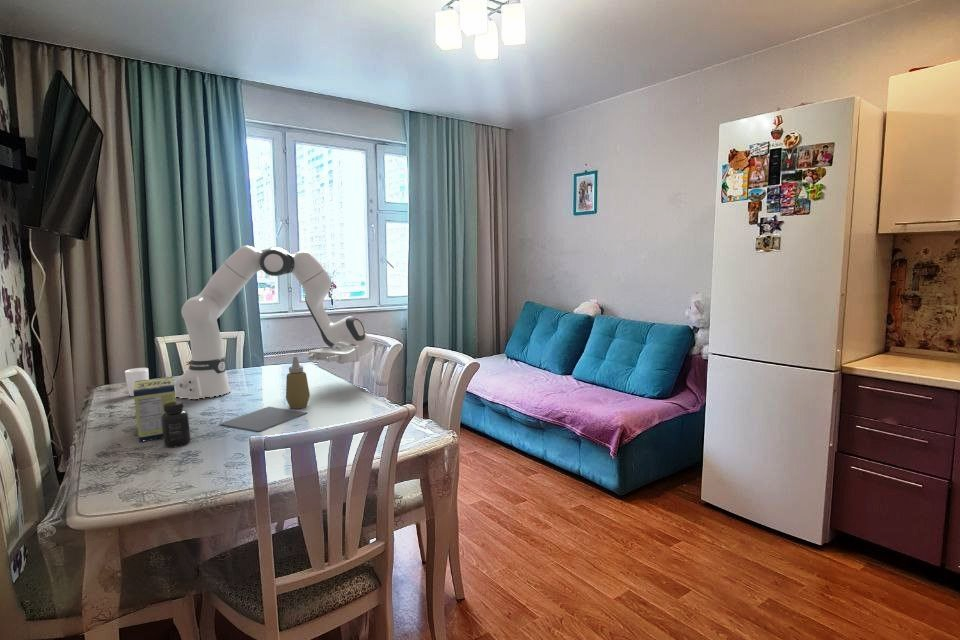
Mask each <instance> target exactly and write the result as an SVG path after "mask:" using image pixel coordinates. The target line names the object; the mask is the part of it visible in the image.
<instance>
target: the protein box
mask: <svg viewBox="0 0 960 640" xmlns="http://www.w3.org/2000/svg"><path fill="white" fill-rule="evenodd" d="M133 393H134V397H133V400H134V407H135V416H136V425H137V433H138V442H139V441H143V440H149V441H151V440H150V439H155V438H160V439H162V438H161V437H163V432H162V423H161V417H162V415H163V414H164V413H165V412H164V405H165V404H167V403H170V402H177V400H176V399H177V398H176V397H175V383H174V376H167V377H160V378H152V379H150V378H149V380H141V381H135V386H134V391H133ZM155 440H156V439H155Z"/></svg>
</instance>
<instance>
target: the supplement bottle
mask: <svg viewBox="0 0 960 640" xmlns="http://www.w3.org/2000/svg"><path fill="white" fill-rule="evenodd" d="M184 409H185V408H184V402H183V401H180V400H179V401H176V402H170V403H167V404H165V405H164V412H165V413H164V414H163V415H162V417H161V423H162V432H163V438H162V441H163V446H164V447H166V446H167V447H166V448H176V447H175V446H179V447H182V446H181V445H183V446H185V445H184V444H186V445H188V444H189V443H190V442H191V440H192V436H191V427H190V418H189V413H188V412H187V410H184ZM187 443H188V444H187Z"/></svg>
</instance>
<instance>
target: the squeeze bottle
mask: <svg viewBox="0 0 960 640" xmlns="http://www.w3.org/2000/svg"><path fill="white" fill-rule="evenodd" d="M288 372H289V373H287V374H286V379H285V380H286V386H285V400H286V402H287V403H288V405H289V409H294V410H295V409H302V408H306V407H307V406H308V404H309V400H310V395H311V394H310V389H309V383H308V377H307V373H306V372H305V371H304V366H302V365H300V361H299V360H298V356H293V358H292V363H291V366H289V367H288Z"/></svg>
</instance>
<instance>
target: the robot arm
mask: <svg viewBox="0 0 960 640" xmlns="http://www.w3.org/2000/svg"><path fill="white" fill-rule="evenodd" d="M260 271H263V273H265V274H266V275H268V276H271V277H280V276H283V275H286V274H287V275H288V274H292V275H293V276H294V277H295V278H296V280H297V281H298V283H299V284H300V285H301V287H302V289H303V291H304V294H305V296H304V301H305V304H306V307H307V308H308V311H309V313H310V314H311V317H312V318H313V320H314V322H315V324H316V326H317V327H318V330H319V331H320V335H321V338H322V341H323V342H324V343H325V345H326V346H328V347H329V348H327V347H325V348H323V347H321V348H316V349H310V350H308V356H307V360H308V361H311V362H312V361H320V362H321V361H325V362H327V363H332V362H336V363H337V364H340V365H342V364H348V363H358V362H360V361H361V359H362V358H364V357H367V356H369V355H370V353H371V352H372V351H373V349H374V343H373V340H372V338H371V337H369V336H368V335H367V334H366V333H365V328H364V325H363V323H362V321H361V320H360V319H359V318H357V317H356V316H353V315H349V316H347V317H343V318H342V319H340V320H338V321H336V322H333V321H331V318H330V317H329V316H328V313H327V312H326V309H325V307H324V304H323V303H324V300H325V297H327V295H328V294H329V291H330V290H331V287H332V281H331V278H330V276H329V275H328V272H327V271H326V270H325V268H324V267H323V266H322V264H321V263H320V261H318V259H317V258H316V257H315V256H314V255H313V254H312V253H311V252H310V251H308V250H300V251H296V252H295V253H292V254H291V253H290V252H289V251H288V250H287V249H285V248H283V247H281V246H271V247H269V248H266V249H263V250H258V249H257V248H255V247H254V246H251V245H243V246H241V247H239V248H238V249H236V250H235V251H234V252H233V253H232V254H231V255H230V256H229V257H228V258H227V259H226V260H224V262H223V263H222V264H221V265H220V266H219V268H218V269H217V270H216V271H215V272H214V273H213V274H212V276H211V277H209V278H210V279H209V280H208V282H207V284H206V285H205V287H204V288H203V289H202V290H201V292H200V293H199V294H198V295H196V296H192V297H190V298H189V299H187V300H186V301H185V302H184V304H183V305H182V307H181V310H180V311H181V312H180V313H181V316H182V319H184V323H185V326H186V327H185V328H186V331H187V334H188V338H189V341H190V342H189V343H190V352H191V353H190V354H191V360H190V361H186V366H188V370H186V371H185V372H184V373H183V374H181V376H180V377H178V378H177V379H176V381H175V384H174V388H175V396H176V397H183V398H191V399H198V400H200V399H199V398H203V399H206V398H205V397H210V398H215V397H214V396H216V397H220V396H219V395H221V396H223V394H225V395H227V394H230V393H231V392H232V389H231V386H230V384H229V380H228V377H227V372H226V368H227V367H226V366H227V365H226V364H227V363H226V357H225V356H224V355H225V354H224V348H223V347H224V346H223V345H224V344H223V336H222V334H221V331H220V328H219V323H218V319H219V318H220V317H221V315H222V314H223V313H224V312H225V310H226V309H228V307H229V306H230V304H231V303H232V301H233V300H234V299H235V297H237V295H238V294H239V292H241V291H242V289H243V288H244V287H245V286H246V285H247V284H248V283H249V281H250V280H251V279H252V278H253V276H254V275H256V274H257V273H258V272H260ZM229 392H230V393H229ZM226 393H227V394H226Z"/></svg>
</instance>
